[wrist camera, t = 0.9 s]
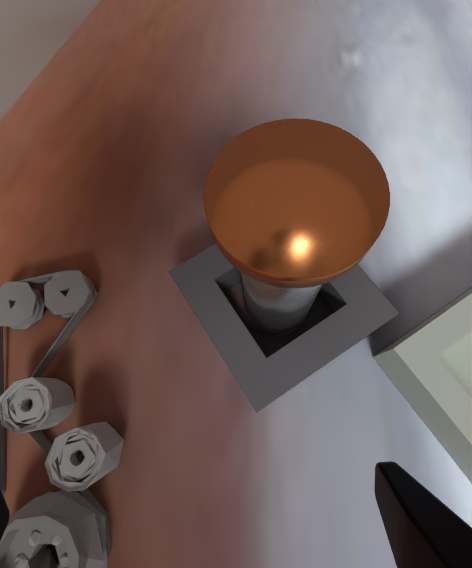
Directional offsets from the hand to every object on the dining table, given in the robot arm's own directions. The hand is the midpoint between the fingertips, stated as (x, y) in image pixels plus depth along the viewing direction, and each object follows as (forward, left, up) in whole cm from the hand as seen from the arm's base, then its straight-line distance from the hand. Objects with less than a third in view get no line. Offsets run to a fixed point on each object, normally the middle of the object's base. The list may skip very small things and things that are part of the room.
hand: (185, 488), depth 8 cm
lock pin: (+5, -7, -13) cm, 15 cm away
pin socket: (+5, -7, -13) cm, 15 cm away
